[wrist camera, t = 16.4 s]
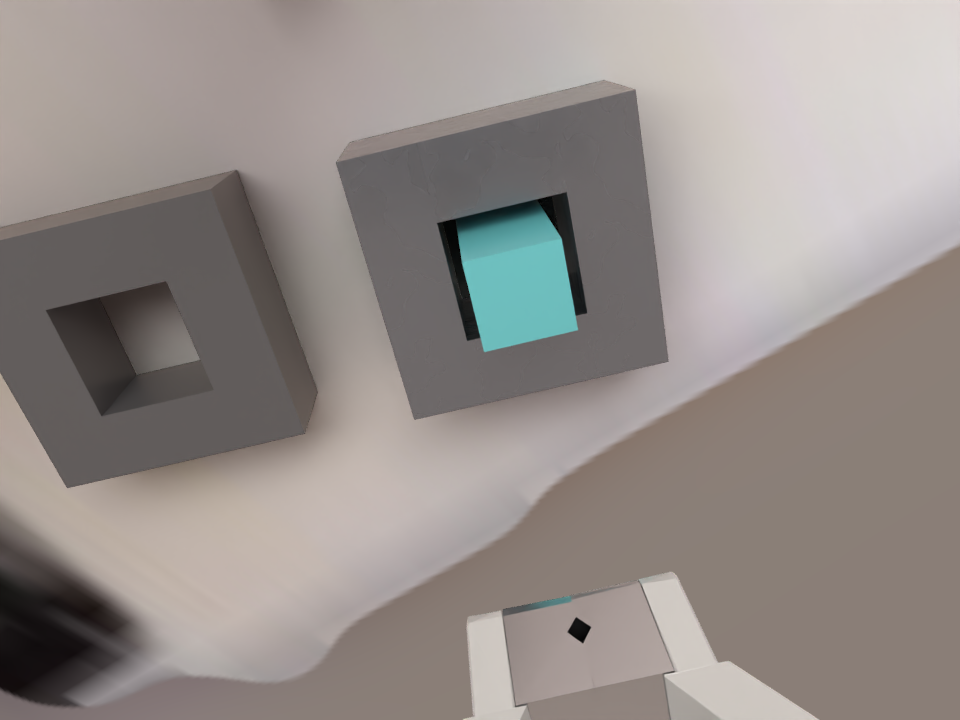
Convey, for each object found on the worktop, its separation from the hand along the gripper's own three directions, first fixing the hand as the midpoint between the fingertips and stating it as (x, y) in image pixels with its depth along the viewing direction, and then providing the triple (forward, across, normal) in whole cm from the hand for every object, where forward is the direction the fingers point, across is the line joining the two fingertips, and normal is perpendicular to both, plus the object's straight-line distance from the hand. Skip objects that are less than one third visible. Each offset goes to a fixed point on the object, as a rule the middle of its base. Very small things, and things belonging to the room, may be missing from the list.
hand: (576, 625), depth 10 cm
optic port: (+24, -1, +1) cm, 24 cm away
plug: (+24, -1, +1) cm, 24 cm away
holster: (+24, +15, +1) cm, 28 cm away
